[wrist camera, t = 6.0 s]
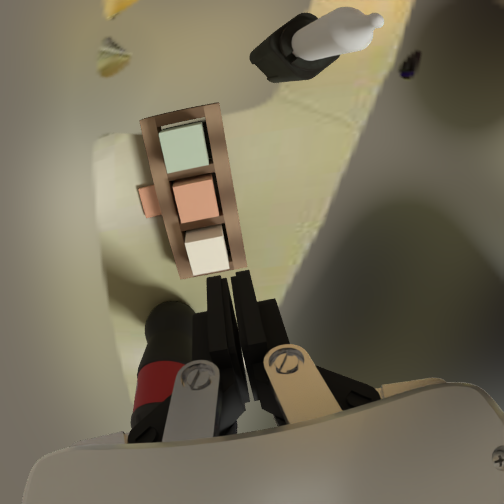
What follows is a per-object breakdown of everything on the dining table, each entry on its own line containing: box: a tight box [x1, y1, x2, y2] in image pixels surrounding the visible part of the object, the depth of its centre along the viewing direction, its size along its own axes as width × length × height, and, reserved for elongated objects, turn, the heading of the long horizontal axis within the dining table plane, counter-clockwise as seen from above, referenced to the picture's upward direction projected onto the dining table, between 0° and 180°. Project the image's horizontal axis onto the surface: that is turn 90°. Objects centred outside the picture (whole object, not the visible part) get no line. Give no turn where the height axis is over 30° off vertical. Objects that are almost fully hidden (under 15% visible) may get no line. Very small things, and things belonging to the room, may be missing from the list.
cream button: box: [185, 224, 229, 276], centre depth 40 cm, size 4×4×4 cm
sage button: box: [159, 121, 209, 174], centre depth 34 cm, size 4×4×4 cm
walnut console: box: [140, 103, 247, 279], centre depth 38 cm, size 21×9×3 cm, turn 8°
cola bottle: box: [131, 302, 195, 428], centre depth 36 cm, size 8×8×30 cm
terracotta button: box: [173, 172, 219, 223], centre depth 38 cm, size 4×4×4 cm
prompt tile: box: [138, 185, 162, 218], centre depth 39 cm, size 4×2×1 cm, turn 8°
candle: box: [250, 7, 384, 83], centre depth 22 cm, size 5×5×25 cm
